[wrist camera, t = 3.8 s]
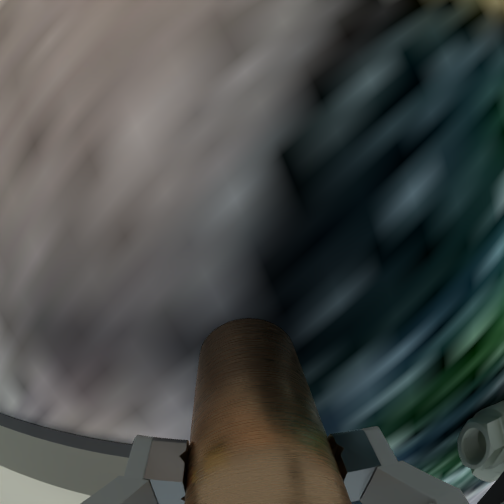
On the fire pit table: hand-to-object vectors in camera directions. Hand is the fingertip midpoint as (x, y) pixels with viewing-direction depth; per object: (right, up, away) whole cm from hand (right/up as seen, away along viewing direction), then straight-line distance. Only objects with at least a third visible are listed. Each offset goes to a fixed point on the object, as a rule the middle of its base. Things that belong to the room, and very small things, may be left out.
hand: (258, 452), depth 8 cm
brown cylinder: (0, +1, +5) cm, 5 cm away
